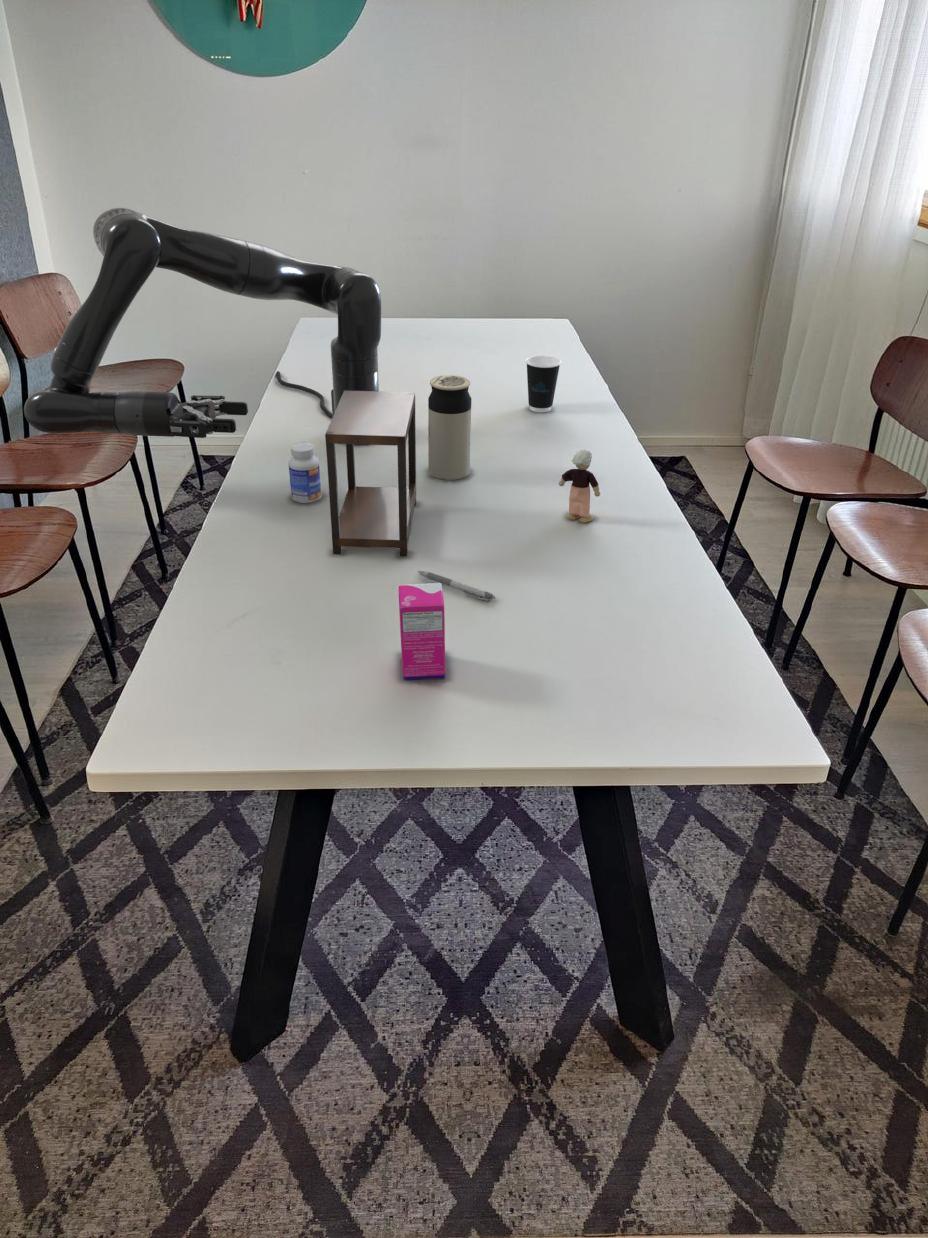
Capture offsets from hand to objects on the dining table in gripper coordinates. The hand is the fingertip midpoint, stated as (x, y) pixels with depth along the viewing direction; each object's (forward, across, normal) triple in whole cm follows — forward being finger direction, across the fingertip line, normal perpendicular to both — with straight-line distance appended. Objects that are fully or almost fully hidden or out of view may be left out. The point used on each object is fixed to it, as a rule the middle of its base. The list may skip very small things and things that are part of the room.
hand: (241, 417), depth 157 cm
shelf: (+24, -11, +15) cm, 30 cm away
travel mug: (+36, +13, +15) cm, 41 cm away
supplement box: (+35, -51, +15) cm, 64 cm away
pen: (+38, -31, +15) cm, 51 cm away
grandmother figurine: (+59, -4, +15) cm, 61 cm away
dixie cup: (+55, +51, +15) cm, 76 cm away
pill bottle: (+10, 0, +15) cm, 18 cm away
